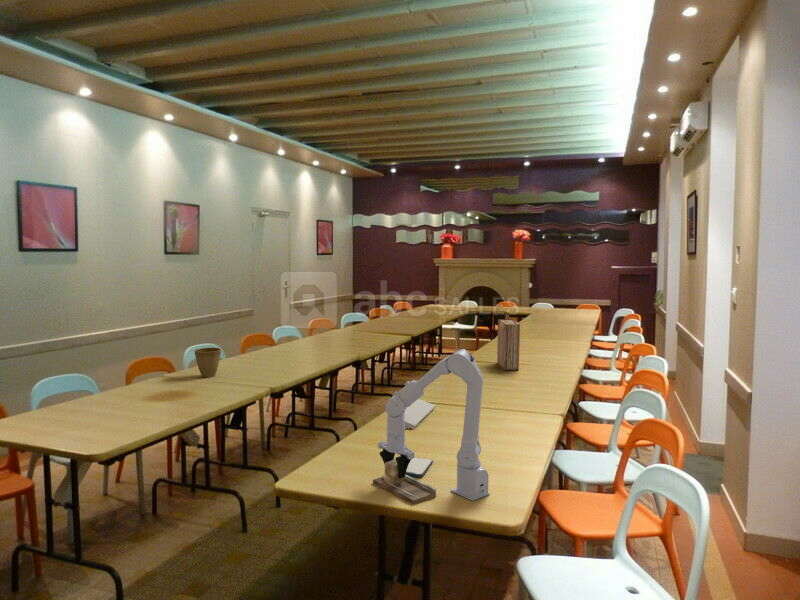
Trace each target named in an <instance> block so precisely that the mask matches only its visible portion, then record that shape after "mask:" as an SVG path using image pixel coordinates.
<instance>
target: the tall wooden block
mask: <svg viewBox="0 0 800 600" xmlns="http://www.w3.org/2000/svg"><path fill="white" fill-rule="evenodd" d="M520 333H521V324H520V323H519V322H518V321H516V320H515V319H512V318H497V352H496V353H497V354H496V355H497V358H496V359H497V360H496V362H497V364H498V365H499V367H500V368H502V369H503V371H507V370H509V371H510V370H511V371H513V370H514V371H516V370H517V371H519V370H520V341H521V340H520V335H521V334H520Z"/></svg>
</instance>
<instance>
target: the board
mask: <svg viewBox="0 0 800 600" xmlns="http://www.w3.org/2000/svg"><path fill="white" fill-rule="evenodd" d="M372 484H374V485H375V484H376V485H375V486H377V485H378V487H379V488H382V490H383V489H384V490H385V491H387V492H389V493H391V494H392V495H395V496H397V497H399V498H400V499H403V500H405V501H406V502H408V503H411V505H415V504H418V503H422V502H424V501H427V500H430V499H432V498H435V497H437V488H435V487H433V486H431V485H430V484H427V483H425V482H422V481H420V480H418V479H417V478H414V477H410V476H408V475H406V474H405V480H404V481H402V482H399V483H397V484H394V485H393V484H390V483H388V482H386V481H385V475H382V476H381V477H377V478H373V479H372Z"/></svg>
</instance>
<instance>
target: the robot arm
mask: <svg viewBox="0 0 800 600" xmlns="http://www.w3.org/2000/svg"><path fill="white" fill-rule="evenodd" d="M451 373H452V374H453V375H455V376H457V377H458V378H461V379H462V381H464V383H465V384H466V386H467V387H466V394H465V395H466V397H465V407H464V417H463V430H462V437H461V442H460V447H459V450H458V451H457V453H456V460H457V462H456V463H457V464H456V466H457V467H456V487H454V488H451V489H450V491H451V492H452V493H455V494H457V495H459V496H461V497H464V498H466V499H467V500H470V501H473V502H474V501H476V500H478V499H481V498H484V497H486V496H489V495H491V493H490V492H489V473H488V471H487V470H486V469H485V468H484V467H482V463H481V460H480V459H479V456H480V454H481V452H482V447H481V444H480V435H479V431H480V421H481V420H480V419H481V412H482V411H481V410H482V399H483V397H482V396H483V386H484V376H483V374H482V371H481V370H480V367H479V366H478V363H477V361H476V358H475V356H473V354H471V352H469V351H468V350H467V349H464V348H462V349H461V348H459V349H457V350H455V351H454V352H453V353H452V354H449V355H448V356H446V357H445V358H443V359H441V360H440V361H439V362H437V363H436V364H435V365H434V366H433V367H431V368H430V370H429V371H428V372H426V373H425V374H424V375H423V376H422V377H421V378H419V379H418V380H411V381H409V380H408V381H406V382H405V383H404V387H402V388H401V389H400V390H398V391H395V392H394V394H393V395H392V396H391V397H390V398H389V399H388V400H387V401H386V403H385V405H384V409H385V413H386V415H387V417H386V441H383V440H382V441H379V442H378V443H377V448H378V449H379V450H381V449H382V451H379V455H380V458H381V459H382V461H383V464H384V466H385V463H386V462H389V461H391V460H394V459H396V461H397V465H398V476H399V478H400V479H401V478H404V477H405V474H406V470H407V467H408V465H409V463H410V461H411V459H413V458H414V457H415V451H414V450H411V449H409V448H408V447H407V444H405V443H406V440H405V439H406V428H405V410H406V408H407V407H409V406H410V405H412V404H413V403H414V402H415V401H416V400H418V399H421V397H423V396H424V395H425V388H427V387H428V386H430V384H432V383H433V382H434V381H436V380H437V379H438V378H440V377H441V376H442V375H450V374H451ZM395 455H399V456H396V457H395Z"/></svg>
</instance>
